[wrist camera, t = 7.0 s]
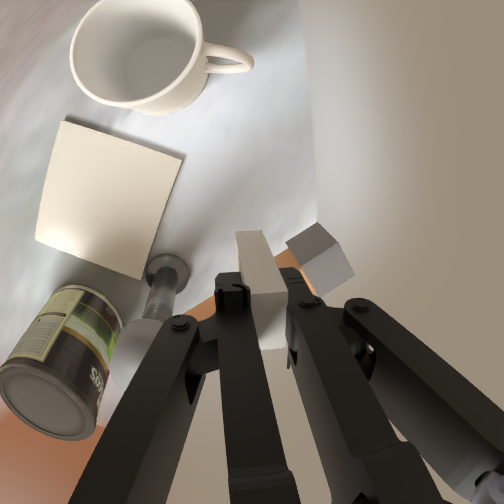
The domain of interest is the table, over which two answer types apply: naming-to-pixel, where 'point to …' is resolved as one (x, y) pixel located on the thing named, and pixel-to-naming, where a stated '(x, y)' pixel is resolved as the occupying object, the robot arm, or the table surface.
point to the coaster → (104, 198)
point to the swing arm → (144, 330)
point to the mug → (147, 55)
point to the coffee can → (63, 364)
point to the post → (164, 285)
